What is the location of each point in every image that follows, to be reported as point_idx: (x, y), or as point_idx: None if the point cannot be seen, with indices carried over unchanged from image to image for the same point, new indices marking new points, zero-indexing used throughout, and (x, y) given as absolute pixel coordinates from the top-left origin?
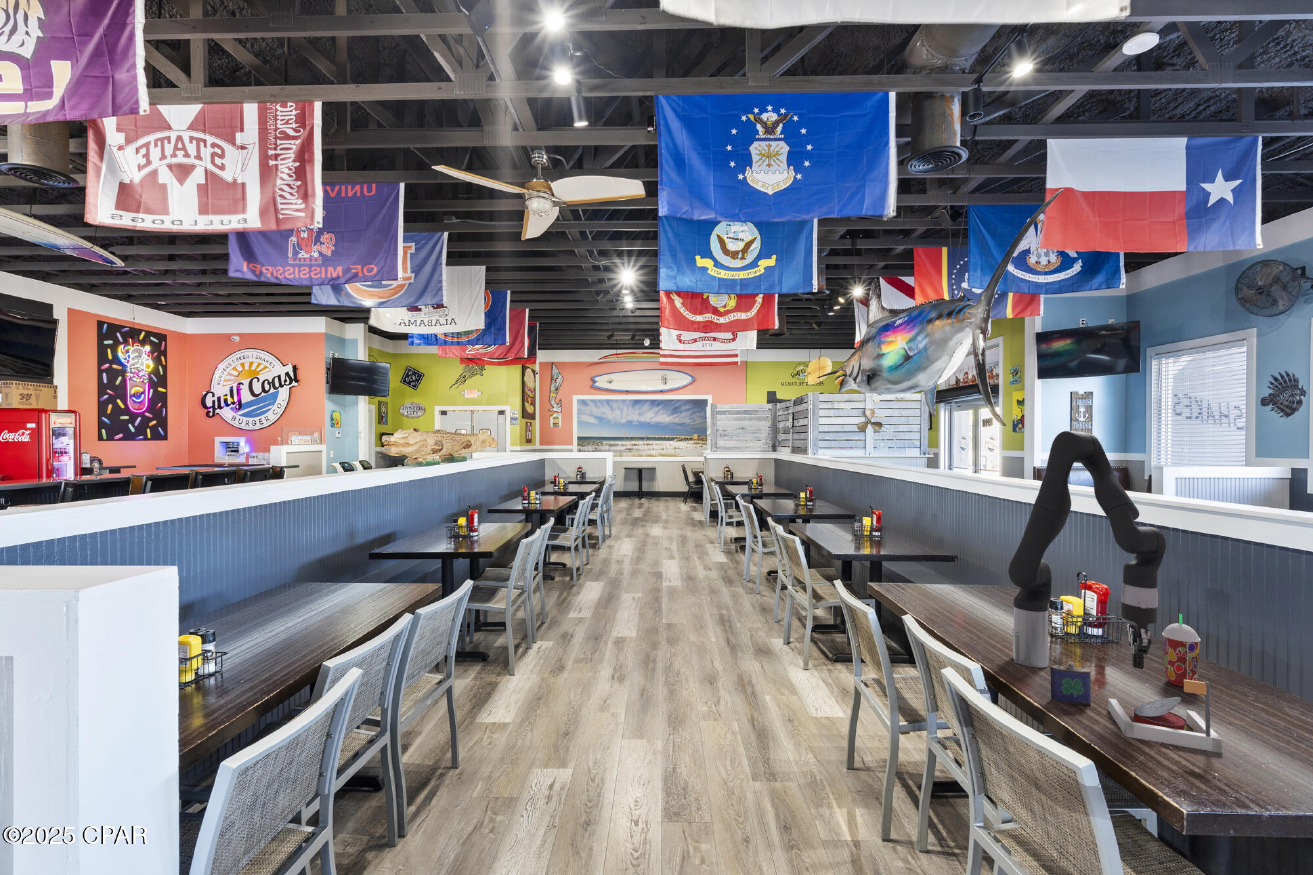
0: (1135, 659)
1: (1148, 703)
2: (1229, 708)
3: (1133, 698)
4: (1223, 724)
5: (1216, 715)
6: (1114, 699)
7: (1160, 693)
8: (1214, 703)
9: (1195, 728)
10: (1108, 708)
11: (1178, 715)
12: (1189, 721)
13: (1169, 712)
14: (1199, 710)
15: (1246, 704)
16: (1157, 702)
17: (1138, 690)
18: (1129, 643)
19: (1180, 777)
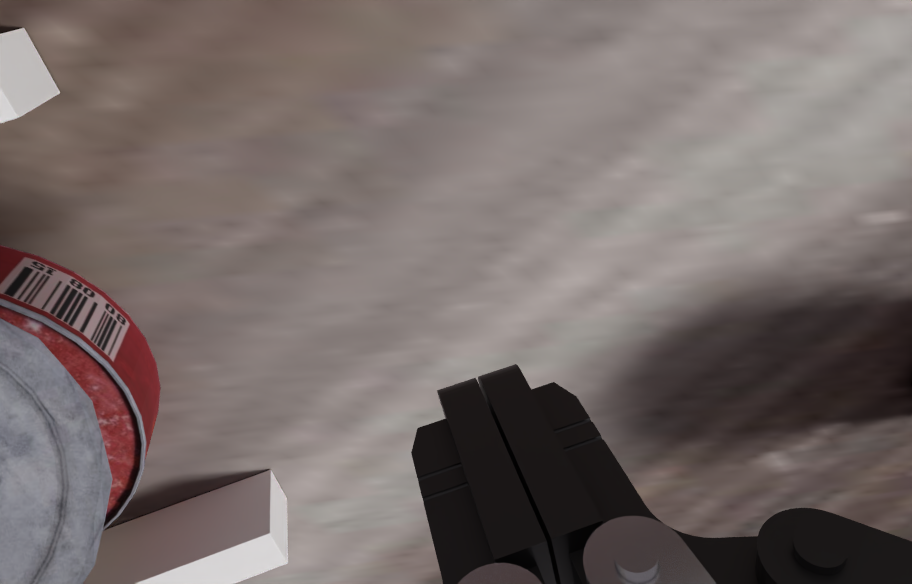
0: (460, 498)
1: (49, 394)
2: None
3: (537, 178)
4: (404, 570)
5: None
6: (3, 103)
7: (746, 299)
8: (714, 495)
9: (108, 547)
10: (17, 29)
11: (108, 520)
12: (211, 512)
13: (136, 470)
14: None
15: None
16: (33, 476)
17: (740, 188)
18: (859, 560)
19: None
